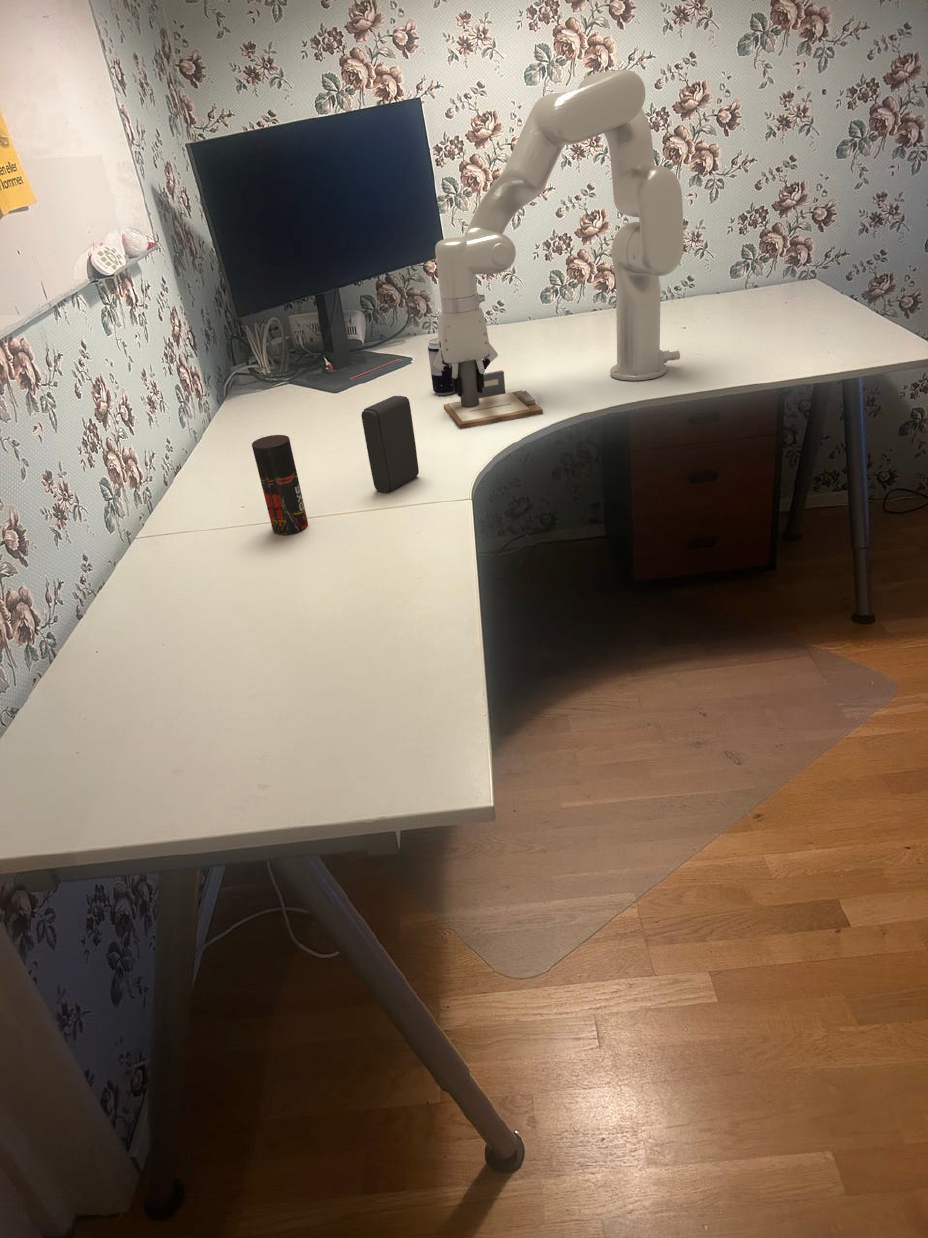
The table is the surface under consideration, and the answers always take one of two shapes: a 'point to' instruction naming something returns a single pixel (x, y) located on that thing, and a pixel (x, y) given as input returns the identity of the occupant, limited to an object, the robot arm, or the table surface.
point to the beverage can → (439, 372)
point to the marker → (468, 383)
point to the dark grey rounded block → (390, 443)
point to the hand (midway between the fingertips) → (469, 392)
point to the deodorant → (280, 484)
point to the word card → (493, 384)
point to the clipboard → (494, 409)
